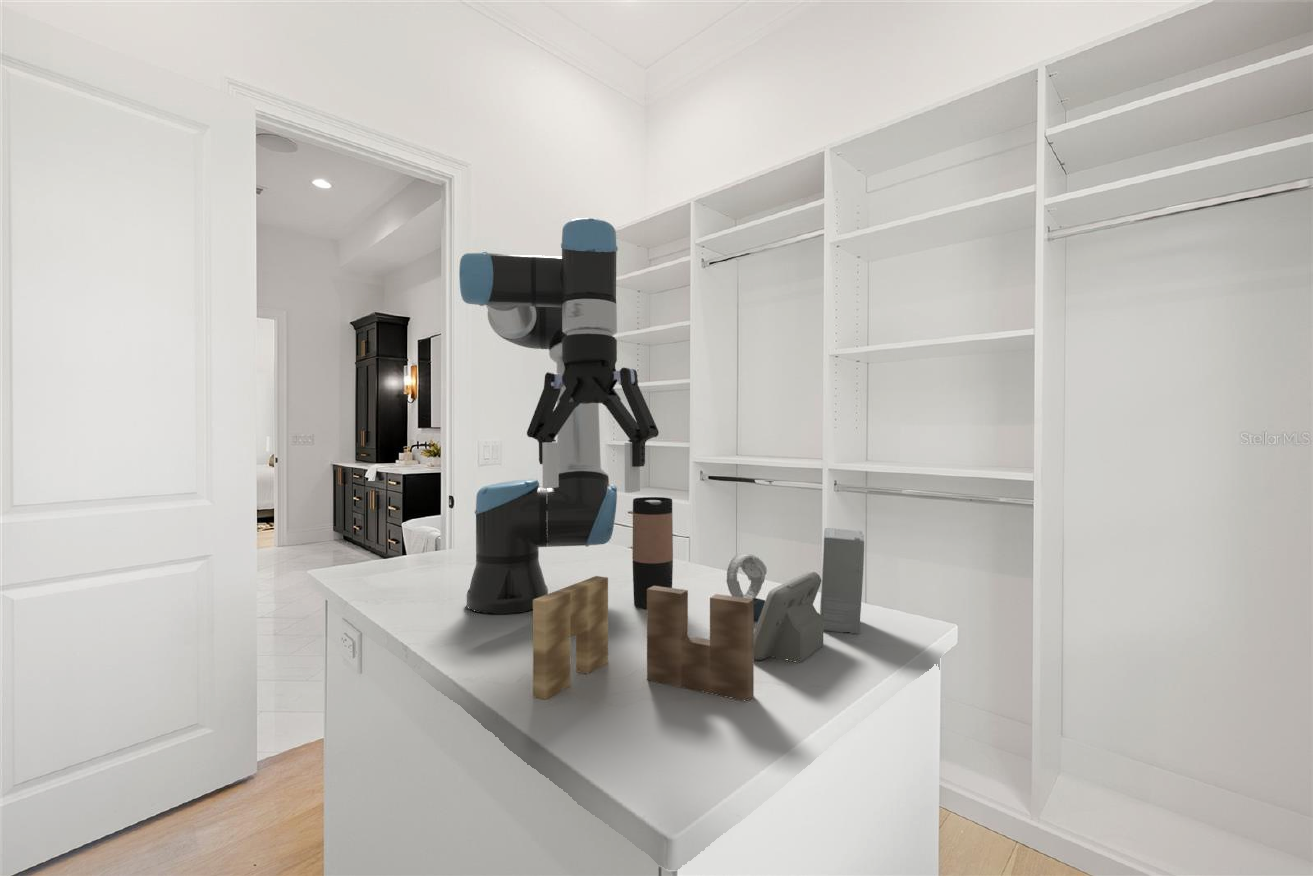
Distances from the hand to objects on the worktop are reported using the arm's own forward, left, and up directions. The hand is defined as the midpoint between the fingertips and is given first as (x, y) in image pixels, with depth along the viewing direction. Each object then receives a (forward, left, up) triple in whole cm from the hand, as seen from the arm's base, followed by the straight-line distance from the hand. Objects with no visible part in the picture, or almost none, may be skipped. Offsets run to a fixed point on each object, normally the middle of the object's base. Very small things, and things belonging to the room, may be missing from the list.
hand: (590, 490), depth 84 cm
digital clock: (+22, +20, -25) cm, 39 cm away
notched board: (0, -4, -25) cm, 25 cm away
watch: (+11, +32, -25) cm, 42 cm away
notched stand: (+16, +1, -25) cm, 29 cm away
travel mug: (-7, +31, -25) cm, 41 cm away
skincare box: (+27, +35, -25) cm, 51 cm away
